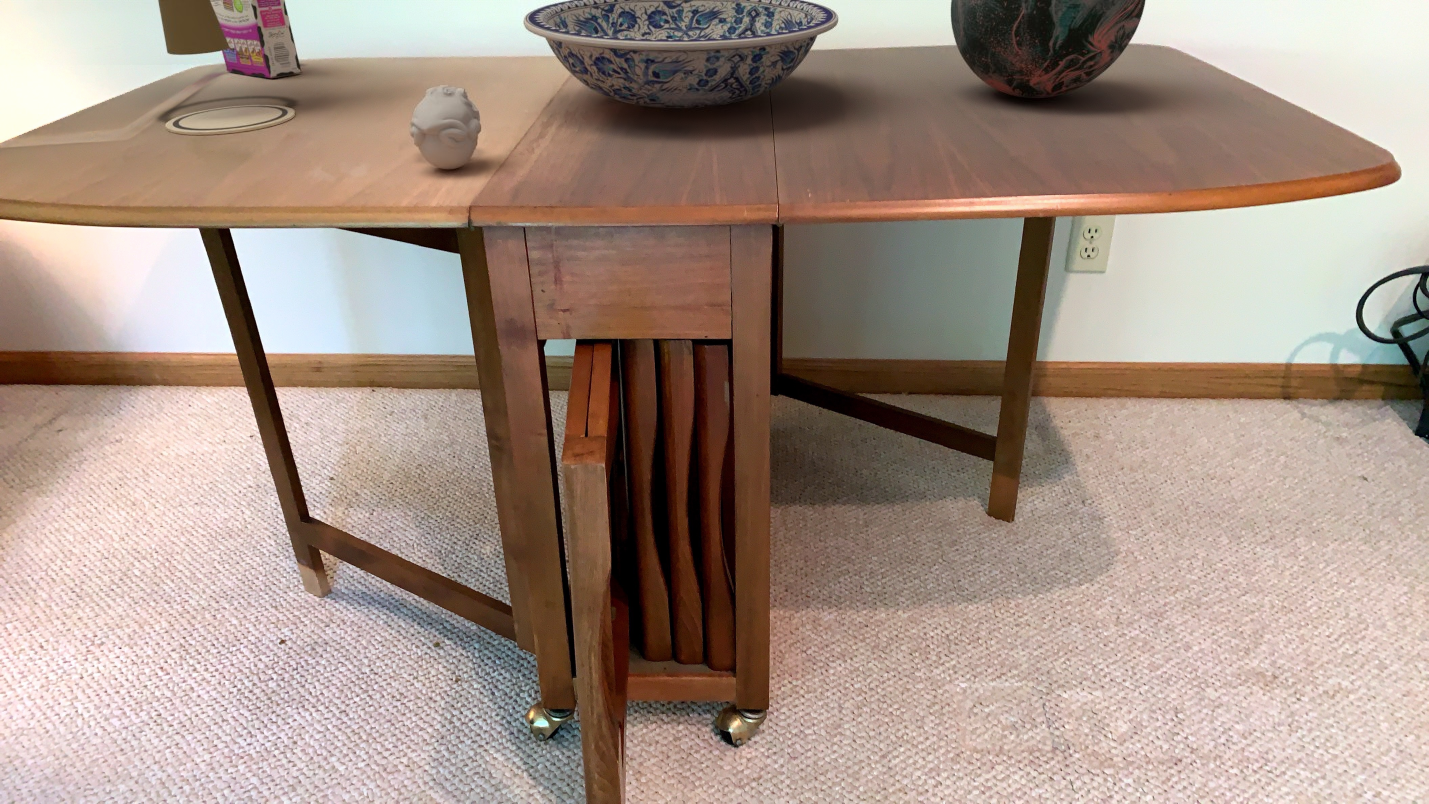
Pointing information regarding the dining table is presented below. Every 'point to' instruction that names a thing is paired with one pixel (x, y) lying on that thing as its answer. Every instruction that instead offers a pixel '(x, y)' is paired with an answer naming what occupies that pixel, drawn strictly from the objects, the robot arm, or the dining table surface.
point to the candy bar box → (257, 37)
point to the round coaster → (230, 119)
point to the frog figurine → (446, 127)
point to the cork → (191, 27)
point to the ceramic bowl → (681, 46)
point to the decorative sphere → (1042, 41)
